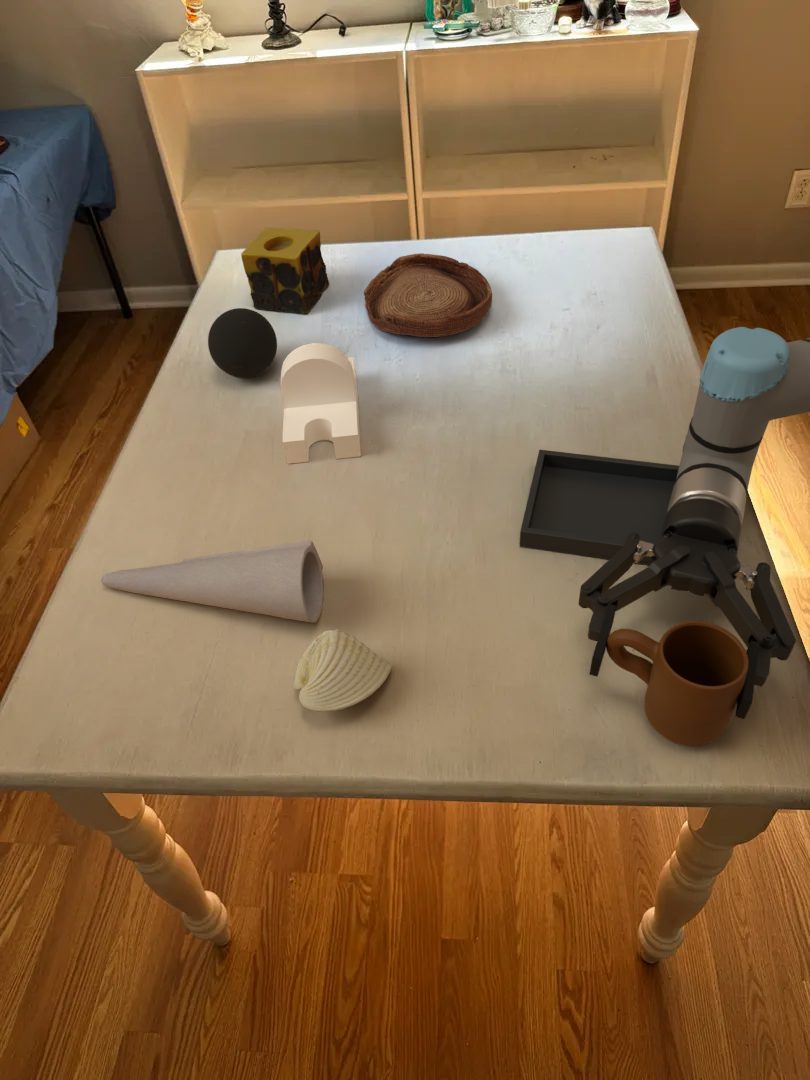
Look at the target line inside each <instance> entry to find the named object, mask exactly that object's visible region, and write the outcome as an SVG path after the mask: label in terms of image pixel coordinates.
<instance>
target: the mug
mask: <svg viewBox="0 0 810 1080" xmlns="http://www.w3.org/2000/svg"><path fill="white" fill-rule="evenodd" d="M626 647H628V648H631V649H633V650H635V651H636V652H638V653H639V654H641V655H642V656H645V657H646V658H648V659H650V660H651V661H652V662H651V661H649V660H648V659H646V658H644V657H642V656H639V655H637V654H633V653H632V652H630V651H628V650H627V648H626ZM605 651H607V655H608V658H610V660H611V661H612V662H613V663H614V664H615V665H616V666H618V667H619V668H621V669H622V670H624V671H626V672H629V673H630V674H634V675H635V676H637V677H638V678H639V679H640V680H642V681H643V682H644V683H645V684H646V691H645V695H644V712H645V716H646V718H647V720H648V722H649V724H650V726H652V728H653V729H654V730H655V731H656V732H657V734H659V735H660V736H661V737H663V738H664V739H666V740H668V741H670V742H672V743H674V744H677V745H681V746H686V747H700V746H701V747H702V746H705V745H709V744H711V743H713V742H714V741H716V740H717V739H718V738H720V737H721V736H722V734H724V732H725V730H726V728H727V727H728V725H729V723H730V720H731V718H732V715H733V712H734V711H735V709H736V707H737V701H738V698H739V696H740V693H741V691H742V688H743V686H744V683H745V679H746V674H747V671H748V665H749V662H748V656H747V653H746V651H747V649H746V648H745V646H744V645H743V644H742V641H740V640H739V639H738V637H736V635H734V634H733V633H732V632H730V631H729V630H728V629H725V628H723V627H722V626H720V625H718V624H714V623H711V622H708V621H700V620H690V621H684V622H680V623H678V624H675V625H673V626H671V627H670V628H669V629H668V630H667V631H665V633H663V635H662V637H661V638H660V640H659V641H657V640H655V639H653V638H651V637H649V636H648V635H646V634H645V633H643V632H641V631H639V630H635V629H630V628H618V629H616V630H614V631H612V632H610V635H609V636H608V638H607V641H606V649H605Z"/></svg>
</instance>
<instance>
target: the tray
mask: <svg viewBox="0 0 810 1080" xmlns="http://www.w3.org/2000/svg"><path fill="white" fill-rule="evenodd" d="M678 470H679V465H676V464H668V463H660V462H651V461H642V460H633V459H625V458H616V457H609V456H600V455H590V454H582V453H572V452H564V451H558V450H557V451H556V450H546V449H539V450H538V454H537V458H536V464H535V466H534V471H533V476H532V481H531V484H530V488H529V492H528V496H527V501H526V506H525V510H524V514H523V517H522V521H521V522H522V523H521V527H520V531H519V532H520V533H519V547H520V548H524V549H525V548H526V549H531V550H533V549H534V550H540V551H546V552H552V553H560V554H567V555H568V554H569V555H574V556H581V557H588V558H596V559H602V560H607V561H608V560H609V559H611V558H612V557H613V556H614V555H615V554H616V553H617V552H618V551H619V550H620V549H621V548H622V547H623V546H624V544H625V542H626V539H627V537H628V535H629V534H630V533H633V532H634V533H637V534H639V536H640V541H644V542H648V543H651V544H655V543H656V542H657V541H659V540H660V537H661V533H662V529H663V526H664V522H665V518H666V515H667V511H668V506H669V502H670V499H671V495H672V491H673V487H674V485H675V482H676V479H677V474H678ZM651 563H652V560H651V557H649V556H646V557H644V558H643V559H642V560H640V561H639V562H638V563H634V562H633V564H636V565H644V566H650V565H651Z"/></svg>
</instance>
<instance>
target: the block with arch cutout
mask: <svg viewBox="0 0 810 1080" xmlns="http://www.w3.org/2000/svg"><path fill="white" fill-rule="evenodd" d="M280 370H281V371H280V383H279V384H280V386H279V387H280V397H281V400H282V406H283V421H282V422H283V423H282V424H283V425H282V438H281V439H282V441H281V443H282V447H283V451H284V456H285V461H286V464H289V465H290V464H299V463H300V464H301V463H309V462H310V448H311V446H312V445H313V444H315V443H317V442H319V441H329V442H332V444H333V450H334V456H335V459H336V460H339V459H348V458H350V459H351V458H358V457H361V456H362V451H361V450H362V449H361V432H360V413H359V393H358V391H359V390H358V379H357V371H356V363H355V358H354V357H352V356H347V355H346V354H345V353H343V352H342V350H340V349H338V348H337V347H335V346H333V345H330V344H326V343H322V342H320V343H318V342H317V343H315V342H312V343H307V344H302V345H300V346H298V347H297V348H294V349H293V350H292V351H291V352H290V353H288V354H287V356H286V358H285V359H284V360H283V362H282V366H281V369H280Z"/></svg>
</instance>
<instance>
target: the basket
mask: <svg viewBox="0 0 810 1080" xmlns="http://www.w3.org/2000/svg"><path fill="white" fill-rule="evenodd" d="M363 296H364V301H365V308H366V309H365V310H366V312H367V316H368V318H369V320H370V322H371V323H372V325H373V326H375V328H376V329H378V330H379V331H382V332H384V333H391V334H395V335H403V336H414V337H417V338H418V337H419V338H428V337H429V338H440V337H446V336H447V337H449V336H452V335H456V334H460V333H463V332H466V331H469V330H470V329H473V328H474V327H476V326H477V325H479V324H480V323H481V322H482V321H483V320H484V319H485V317H486V316H487V315H488V313H489V312H490V309H491V307H492V302H493V291H492V287H491V284H490V283H489V281H488V279H487V278H486V276H484V275H483V273H481V272H480V271H479V270H478V269H477V268H474V267H473V266H472V265H469V264H467V263H466V262H464V261H463V262H462V261H461V262H459V261H458V260H457V259H456V258H453V257H449V256H446V255H442V254H441V255H440V254H430V253H413V254H407V255H403V256H399V257H397V258H396V259H395V260H393V262H392V263H391V264H390V265H388V266H386V267H385V268H384V269H381V270H380V272H379V273H377V275H376V276H375V277H373V278H372V279H371V280H370V281H369V283H368V284H367V286H366V287H365V289H364V290H363Z"/></svg>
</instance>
